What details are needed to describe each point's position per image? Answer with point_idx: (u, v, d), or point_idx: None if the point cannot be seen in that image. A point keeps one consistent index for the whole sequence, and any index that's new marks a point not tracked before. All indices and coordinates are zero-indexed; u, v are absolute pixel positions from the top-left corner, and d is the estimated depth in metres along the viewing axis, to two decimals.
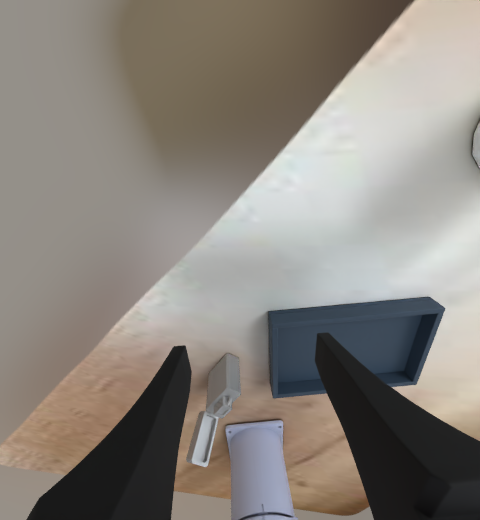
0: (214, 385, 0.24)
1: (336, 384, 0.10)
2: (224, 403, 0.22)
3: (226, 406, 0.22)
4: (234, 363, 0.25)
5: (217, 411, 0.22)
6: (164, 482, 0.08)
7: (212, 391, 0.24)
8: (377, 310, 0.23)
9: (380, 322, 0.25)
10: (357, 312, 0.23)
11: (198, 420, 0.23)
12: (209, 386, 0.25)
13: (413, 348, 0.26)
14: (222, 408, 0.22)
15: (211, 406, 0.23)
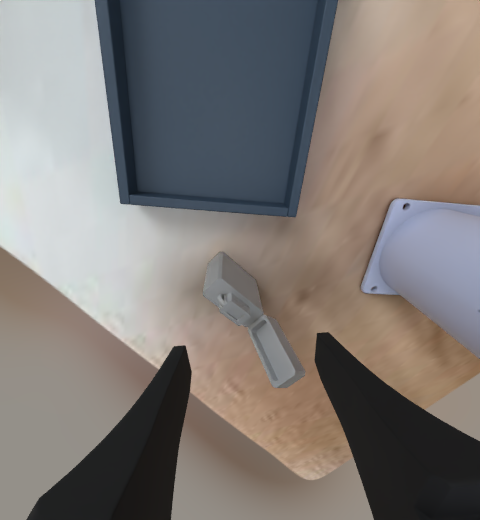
0: None
1: (336, 384, 0.10)
2: (220, 307, 0.14)
3: (223, 306, 0.14)
4: (214, 262, 0.17)
5: (232, 319, 0.14)
6: (164, 482, 0.08)
7: None
8: None
9: None
10: None
11: (258, 340, 0.16)
12: None
13: None
14: (227, 312, 0.14)
15: None
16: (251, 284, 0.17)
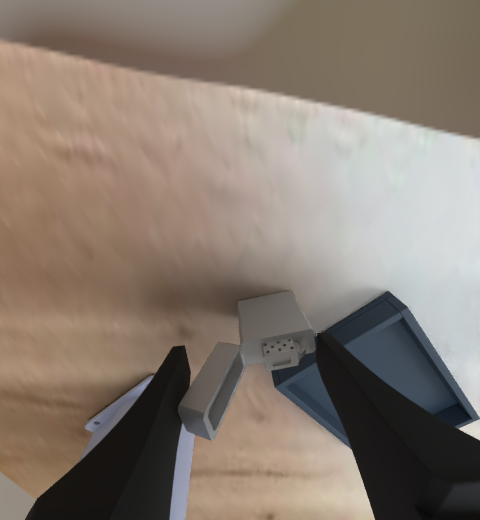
0: (264, 317, 0.14)
1: (337, 384, 0.10)
2: (296, 349, 0.12)
3: (297, 355, 0.12)
4: None
5: (276, 354, 0.12)
6: (163, 482, 0.08)
7: (259, 323, 0.14)
8: None
9: (421, 390, 0.21)
10: None
11: (219, 352, 0.12)
12: (246, 315, 0.15)
13: None
14: (288, 354, 0.12)
15: (256, 343, 0.13)
16: None
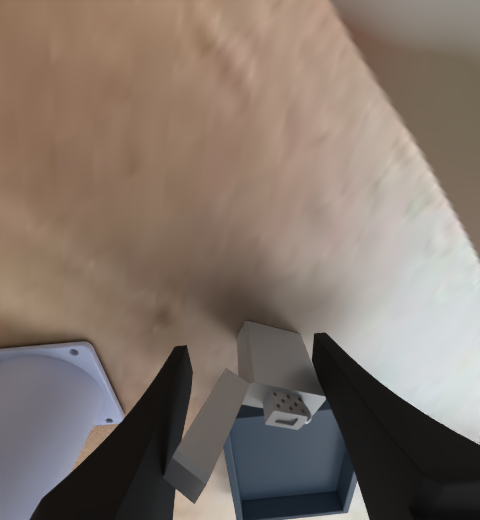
0: (276, 357, 0.12)
1: (332, 384, 0.10)
2: None
3: (303, 420, 0.11)
4: None
5: (287, 413, 0.10)
6: (166, 482, 0.08)
7: (271, 363, 0.12)
8: None
9: (322, 470, 0.22)
10: None
11: (227, 384, 0.10)
12: (256, 345, 0.13)
13: (280, 499, 0.24)
14: (297, 417, 0.10)
15: (266, 388, 0.11)
16: None
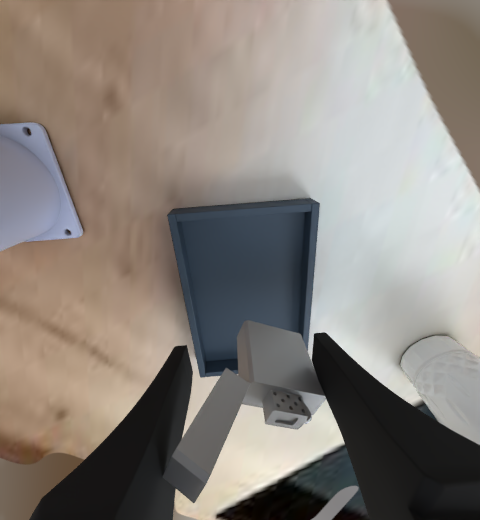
0: (276, 357, 0.12)
1: (333, 384, 0.10)
2: None
3: (303, 420, 0.11)
4: None
5: (287, 413, 0.10)
6: (166, 482, 0.08)
7: (271, 363, 0.12)
8: None
9: (280, 321, 0.23)
10: None
11: (227, 384, 0.10)
12: (256, 345, 0.13)
13: None
14: (297, 417, 0.10)
15: (266, 387, 0.11)
16: None
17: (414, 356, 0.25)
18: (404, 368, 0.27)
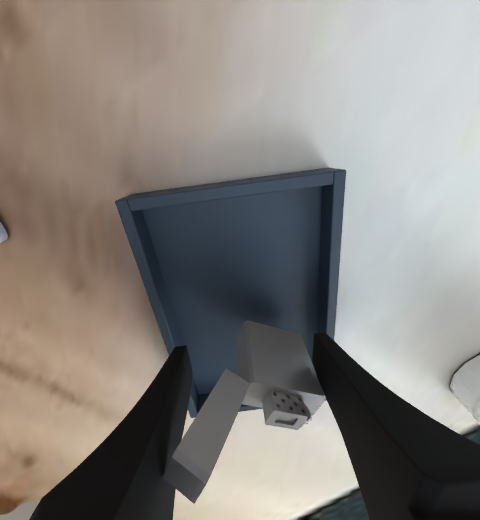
0: (276, 357, 0.12)
1: (333, 384, 0.10)
2: None
3: (303, 420, 0.11)
4: None
5: (287, 413, 0.10)
6: (166, 482, 0.08)
7: (271, 363, 0.12)
8: None
9: None
10: None
11: (228, 384, 0.10)
12: (256, 345, 0.13)
13: None
14: (297, 417, 0.10)
15: (265, 388, 0.11)
16: None
17: (473, 377, 0.19)
18: (457, 391, 0.20)
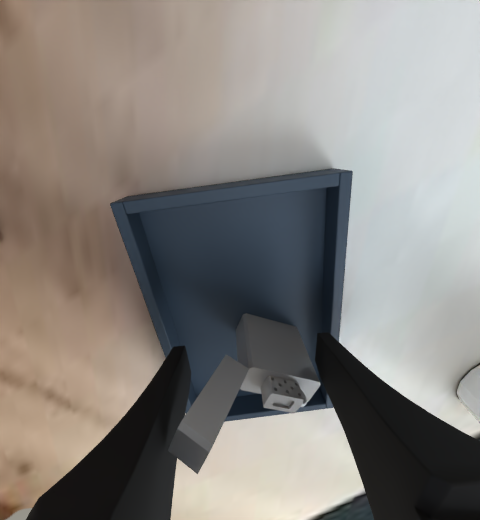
0: (273, 346, 0.13)
1: (336, 384, 0.10)
2: None
3: (299, 403, 0.11)
4: None
5: (284, 396, 0.11)
6: (164, 482, 0.08)
7: (269, 351, 0.13)
8: None
9: None
10: None
11: (228, 368, 0.11)
12: (255, 335, 0.13)
13: (247, 397, 0.18)
14: (293, 400, 0.11)
15: (263, 373, 0.12)
16: None
17: None
18: (464, 398, 0.20)
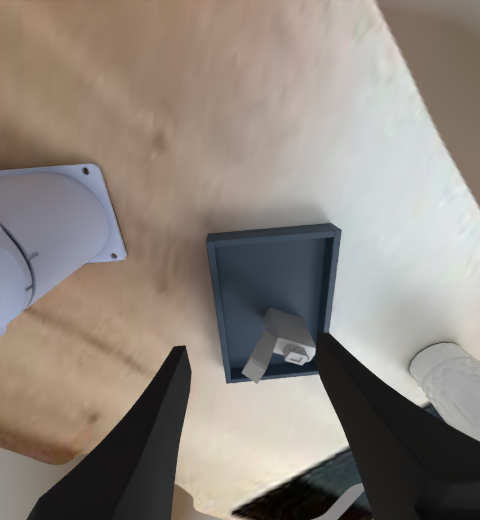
0: (289, 328, 0.21)
1: (336, 384, 0.10)
2: (306, 356, 0.20)
3: (305, 359, 0.20)
4: None
5: (297, 354, 0.19)
6: (164, 482, 0.08)
7: (287, 330, 0.21)
8: None
9: None
10: None
11: (267, 337, 0.19)
12: (278, 321, 0.22)
13: None
14: (302, 357, 0.19)
15: (285, 342, 0.20)
16: None
17: (423, 362, 0.27)
18: (413, 373, 0.29)
